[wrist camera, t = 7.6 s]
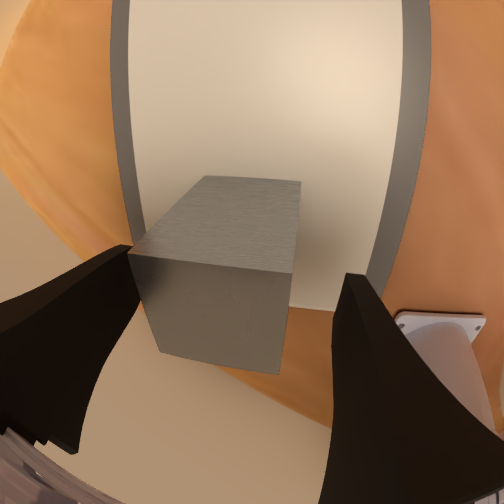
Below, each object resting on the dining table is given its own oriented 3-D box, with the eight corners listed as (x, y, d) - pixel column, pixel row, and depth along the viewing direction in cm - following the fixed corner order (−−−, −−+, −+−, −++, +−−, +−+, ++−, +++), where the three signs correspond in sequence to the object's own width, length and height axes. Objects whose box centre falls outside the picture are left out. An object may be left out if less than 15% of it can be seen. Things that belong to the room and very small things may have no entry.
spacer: (294, 263, 13) (278, 374, 8) (211, 254, 14) (159, 352, 9) (301, 181, 11) (292, 273, 6) (205, 175, 11) (127, 253, 6)
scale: (371, 299, 15) (375, 321, 14) (151, 271, 18) (138, 288, 16) (409, -60, 4) (420, -73, 2) (133, -53, 6) (115, -62, 4)
